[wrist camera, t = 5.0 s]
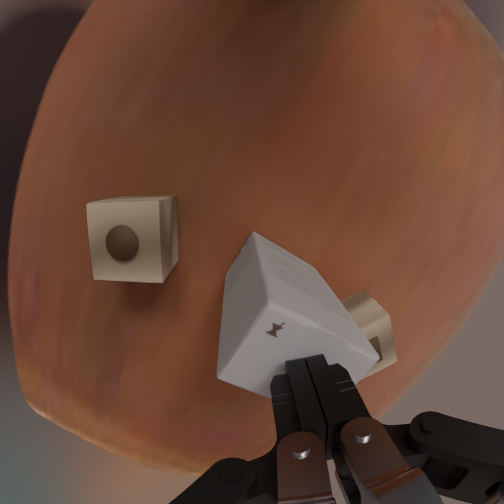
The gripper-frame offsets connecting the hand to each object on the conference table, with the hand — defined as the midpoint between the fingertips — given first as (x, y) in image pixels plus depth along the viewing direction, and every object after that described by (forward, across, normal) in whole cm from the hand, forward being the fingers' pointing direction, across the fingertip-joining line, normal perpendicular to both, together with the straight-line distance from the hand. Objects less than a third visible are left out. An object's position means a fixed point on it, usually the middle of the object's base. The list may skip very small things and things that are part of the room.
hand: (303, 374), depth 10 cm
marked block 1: (+12, +9, -5) cm, 16 cm away
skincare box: (+12, 0, 0) cm, 12 cm away
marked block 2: (+12, -6, +6) cm, 15 cm away
